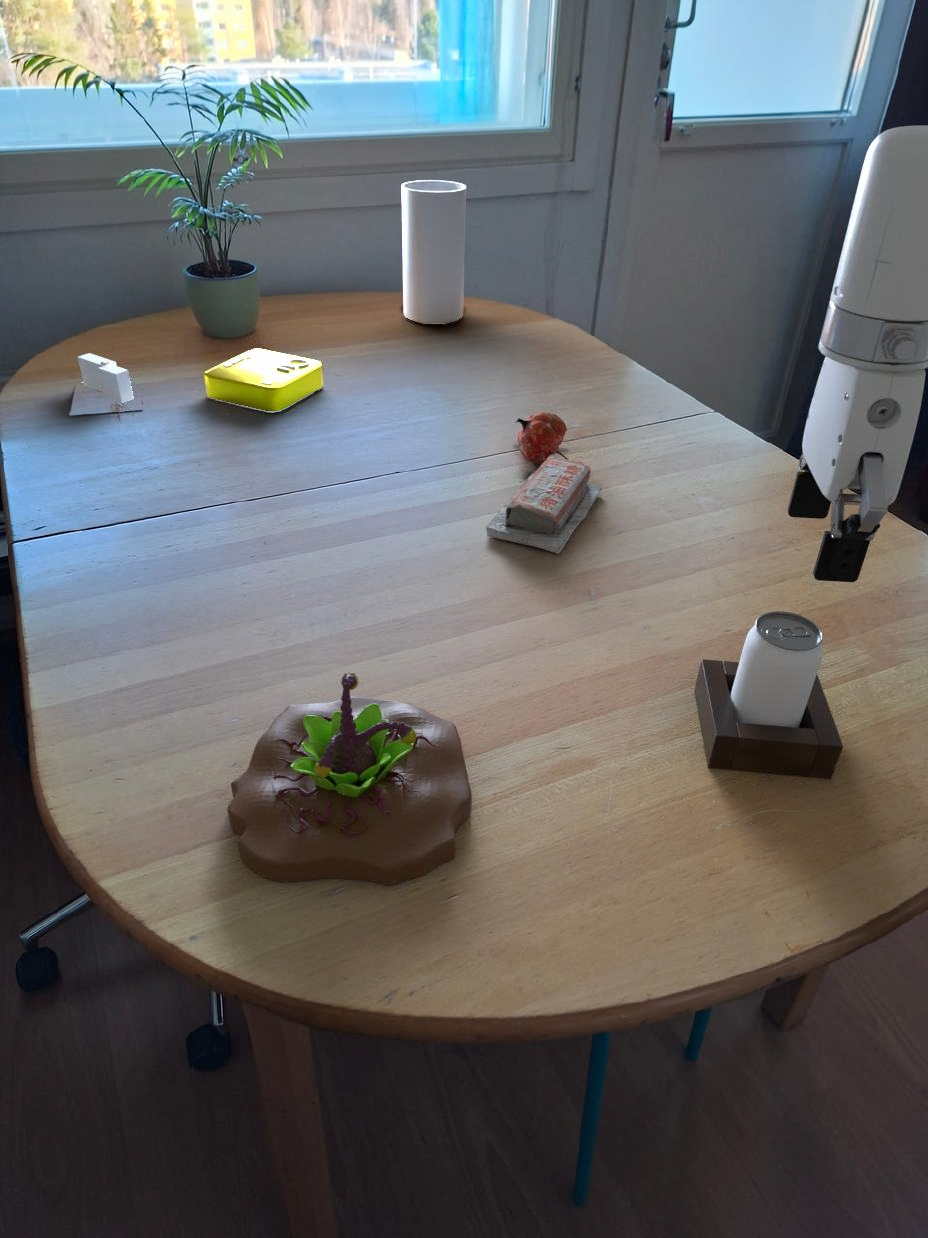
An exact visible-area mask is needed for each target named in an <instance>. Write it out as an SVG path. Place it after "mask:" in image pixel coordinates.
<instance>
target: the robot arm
mask: <svg viewBox="0 0 928 1238" xmlns="http://www.w3.org/2000/svg"><path fill="white" fill-rule="evenodd" d="M848 220H849V221H848V224H847V229H846V233H845V236H844V240H843V245H842V248H841V252H840V253H841V254H840V257H839V261H838V266H837V269H836V273H835V277H834V281H833V285H832V290H831V293H830V297H829V298H830V299H829V302H828V306H827V309H826V314H825V318H824V322H823V325H822V330H821V334H820V338H819V343H818V347H817V348H818V350H819V352H820V353H821V355H823V356H824V360H823V362H822V366H821V369H820V372H819V375H818V379H817V381H816V385H815V388H814V392H813V394H812V395H813V396H812V398H811V403H810V406H809V409H808V414H807V417H806V422H805V427H804V432H803V437H802V442H801V443H802V446H801V447H802V448H801V449H802V454H801V456H800V457H799V460H798V469H799V470H798V471H797V472H796V474H795V479H794V483H793V486H792V491H791V495H790V499H789V502H788V506H787V513H788V516H789V517H791V518H796V519H797V518H800V519H819V520H823V519H826V518H827V517H828V516H829V511H830V508H831V512H830V530H824V533H823V536H822V540H821V543H820V546H819V550H818V553H817V557H816V561H815V564H814V568H813V571H812V574H813V577H814V579H815V580H816V581H821V582H839V583H855V582H857V581H858V580H859V577H860V574H861V572H862V568H863V564H864V562H865V558H866V555H867V553H868V550H869V547H870V543H871V541H873V540H874V539H875V535H876V533H877V532H878V530H879V529H880V527H881V522H882V520H883V518H885V515H886V514H887V512H888V510H889V506H891V505H892V504H893V503H894V502H895V500H896V499H897V496H898V493H899V491H900V488H901V483H902V481H903V477H904V474H905V470H906V466H907V462H908V460H909V455H910V452H911V448H912V444H913V441H914V438H915V433H916V429H917V425H918V421H919V416H920V411H921V406H922V400H923V395H924V388H925V381H926V375H927V374H926V373H927V372H926V370H925V369H928V125H905V126H897V127H893V128H889V129H886V130H884V131H883V132H881V133H879V134H878V135H877V136H876V137H875V138H874V139H873V140H872V142H871V144H870V145H869V146H868V149H867V151H866V154H865V157H864V161H863V164H862V167H861V171H860V176H859V180H858V184H857V189H856V192H855V195H854V200H853V203H852V208H851V213H850V216H849V219H848ZM846 489H852V490H860V494H859V493H844V490H846ZM845 506H855V507H856V506H858V507H859V508H858V510H857V511H858V512H857V513H852V514H851V515H849V516H848V517H847V518H845Z"/></svg>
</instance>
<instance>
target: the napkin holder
mask: <svg viewBox="0 0 928 1238" xmlns="http://www.w3.org/2000/svg"><path fill="white" fill-rule="evenodd" d="M77 362H78V366H79V369H80V374H81V378H82V383H84V385H85V386H88V387H91V388H94V389H96V390H99V391H102V392H103V394H104V397H107V398H109V399H112V400H115V401H117V402H120V403H124V402H127V401H130V400H133V399H134V396H133V391H132V386H131V381H130V379H131V376H130V373H129V371H130V370H129V369H126V368H124V367H120V366H118V365H117V361H115V360H112V359H109V358H105V357H102V356H100V355H96V354H93V353H90V352H89V353H85V354H82V355H78V356H77Z"/></svg>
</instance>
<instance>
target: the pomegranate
mask: <svg viewBox="0 0 928 1238" xmlns="http://www.w3.org/2000/svg"><path fill="white" fill-rule="evenodd" d="M517 423H520V424H521V425H520V428H519V429H518V432H517V433H518V434H517V443H518V450H519V452H520V454H521V456H522V457H523V458H524V459H525V460H526V461H527V462H528V463H532V464H535V465H542V464H543V463H544V462H545V461H546V460H547V459H548V457H550V455H554V454H558V455H560V456H561V457H562V458H563V459H566V460H567V459H568V460H570V459H569V458H568V457H566V456H565V455H564V454H563V453H562V452H561V451H559V447H560V446H561V445H562V443H563V440H564V437H565V435H566V432H567V431H568V428H567V425H566V423H565V422H564V420H563V419H562V418H561V417H560V416H558V415H557V414H556V413H553V412H552V413H551V412H545V411H541V412H539V413H536V414H532V415H530V416H528V418H527V419H525V420H524V419H522V418H520V417H518V418H517V419H516V421H515V424H517Z"/></svg>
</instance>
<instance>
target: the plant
mask: <svg viewBox="0 0 928 1238" xmlns="http://www.w3.org/2000/svg"><path fill="white" fill-rule="evenodd" d="M340 683H341V686H342V692H341V693H342V695H341V698H340V699H336V700H333V701H328V702H313V703H311V702H310V703H303V704H289V705H287V707H286V708H285V709H284V710H283V711H282V712H281V713H280V714H279V715H277V716H276V718H275V719H273V722H272V723H271V725H270V726H269V728H268V729H267V730H266V731H265V732H264V733H263V734H262V735H261V736H260V738H259V739H258V740H257V742H256V744H255V746H254V749H253V753H252V755H251V758H250V762H249V764H248V767H247V769H246V770H245V771H244V772H243V773H242V775H240V776H239V777H237V778H236V779H235V780H233V781H231V782H230V788H231V794H232V798H233V799H232V800H231V801H230V802H229V804H228V806H227V813H228V819H229V824H230V828H231V830H232V831H233V832H234V833H236V834H237V835H239V836H240V837H239V839H238V840H237V850H238V853H239V854H238V855H239V859H240V860H241V861H242V862H243V863H244V864H245V866H246V867H248V868H249V869H250V870H252V871H253V872H255V873H256V874H257V875H259V876H260V877H263V878H264V879H265V878H266V879H267V880H270V881H274V882H285V883H286V882H287V883H288V882H289V883H291V882H303V881H311V880H318V879H345V880H346V879H347V880H362V881H370V882H374V883H377V884H380V885H384V886H394V885H397V884H398V883H400V882H402V881H405V880H411V879H415V878H418V877H421V876H423V875H426V874H428V873H429V872H430V871H432V870H433V869H434V868H437V867H438V866H439V865H441V864H444V863H446V862H449V861H452V860H453V859H455V858H456V855H457V837H456V835H455V834H456V832H457V830H458V829H459V827H460V826H461V825H462V824H463V823H464V822H465V821H466V820H468V818H470V816H471V812H472V803H473V800H472V799H473V798H472V796H473V795H472V789H471V786H470V782H469V775H468V770H467V765H466V760H465V756H464V752H463V745H462V741H461V737H460V734H459V732H458V728H457V726H456V725H455V723H453V722H452V721H448V720H446V719H444V718H441V717H439V716H436V715H435V714H433V713H430V712H428V711H425V710H423V709H421V708H420V707H418V706H416V705H412V704H410V703H406V702H401V701H397V700H393V699H381V698H374V697H363V696H351V691H353V690H355V689H356V688H357V687H358V685H359V677H358V675H357V674H356V673H355V672H345V673H344V674H343V675H342V677H341V681H340Z"/></svg>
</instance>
